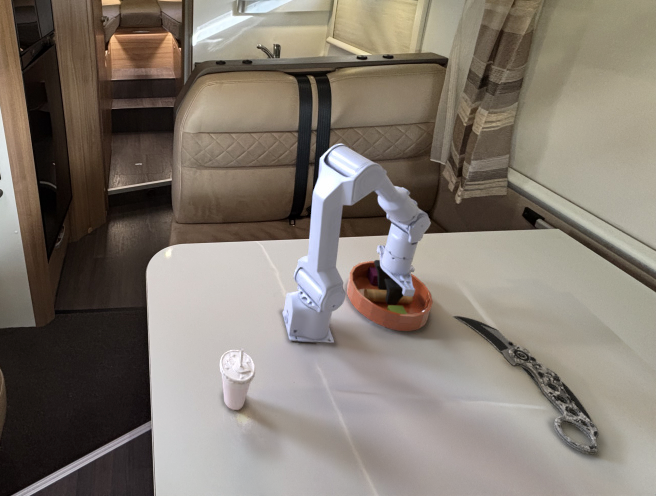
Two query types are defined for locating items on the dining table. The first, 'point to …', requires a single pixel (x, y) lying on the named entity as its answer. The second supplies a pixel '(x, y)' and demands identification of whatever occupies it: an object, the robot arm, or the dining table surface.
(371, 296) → the stick
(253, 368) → the smoothie
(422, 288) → the bowl
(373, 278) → the chunk
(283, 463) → the dining table surface
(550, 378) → the knife
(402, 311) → the chunk
